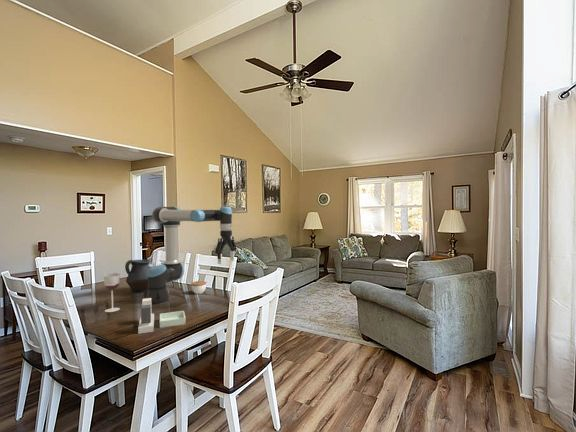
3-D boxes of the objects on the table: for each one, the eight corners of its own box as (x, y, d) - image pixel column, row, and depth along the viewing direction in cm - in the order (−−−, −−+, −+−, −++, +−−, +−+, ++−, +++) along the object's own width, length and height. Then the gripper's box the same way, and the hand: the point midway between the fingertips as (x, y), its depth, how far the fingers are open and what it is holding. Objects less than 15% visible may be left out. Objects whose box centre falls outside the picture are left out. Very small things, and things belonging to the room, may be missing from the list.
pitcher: (161, 289, 236) (160, 258, 236) (134, 296, 218) (133, 262, 217) (145, 286, 247) (145, 255, 247) (118, 292, 229) (118, 259, 228)
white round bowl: (193, 291, 232) (193, 279, 232) (207, 290, 233) (207, 278, 233) (189, 295, 221) (189, 282, 221) (204, 294, 222) (204, 282, 222)
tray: (159, 328, 160) (159, 321, 160) (159, 319, 172) (159, 313, 172) (185, 324, 165) (185, 318, 165) (184, 316, 177) (183, 310, 177)
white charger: (143, 315, 171) (142, 298, 170) (151, 314, 172) (151, 297, 172) (142, 318, 166) (142, 301, 166) (151, 317, 168) (151, 300, 168)
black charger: (141, 323, 159) (141, 305, 158) (150, 322, 160) (150, 304, 160) (141, 326, 154) (140, 308, 154) (150, 325, 156) (150, 307, 156)
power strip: (141, 316, 177) (141, 309, 177) (154, 315, 179) (154, 308, 179) (138, 333, 153) (138, 325, 153) (153, 331, 155) (153, 323, 155)
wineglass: (103, 313, 183) (103, 277, 183) (104, 308, 192) (104, 274, 191) (120, 310, 187) (119, 275, 187) (120, 306, 196) (120, 272, 195)
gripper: (218, 231, 186) (219, 265, 187) (241, 229, 209) (241, 259, 209) (209, 231, 189) (209, 264, 190) (232, 228, 212) (232, 258, 213)
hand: (226, 262), depth 200 cm, fingers open, 13 cm apart
